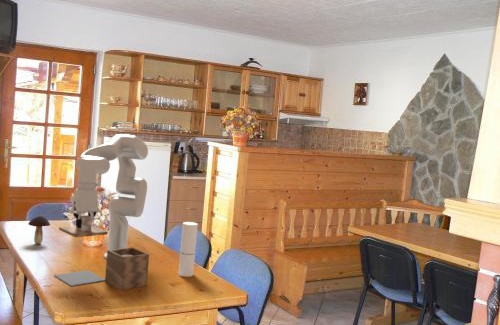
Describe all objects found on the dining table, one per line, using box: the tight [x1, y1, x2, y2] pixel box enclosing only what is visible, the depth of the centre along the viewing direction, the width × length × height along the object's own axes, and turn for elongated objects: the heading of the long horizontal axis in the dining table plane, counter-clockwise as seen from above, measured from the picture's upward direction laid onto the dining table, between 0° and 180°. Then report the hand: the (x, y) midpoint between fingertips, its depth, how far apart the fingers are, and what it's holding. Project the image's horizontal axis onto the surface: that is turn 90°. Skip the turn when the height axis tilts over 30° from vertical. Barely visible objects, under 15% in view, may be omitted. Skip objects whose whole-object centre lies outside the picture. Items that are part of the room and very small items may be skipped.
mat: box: [54, 269, 105, 288], centre depth 227 cm, size 16×16×1 cm
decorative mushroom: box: [28, 216, 51, 245], centre depth 276 cm, size 11×11×15 cm
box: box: [104, 247, 150, 291], centre depth 226 cm, size 13×13×14 cm
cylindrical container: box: [178, 221, 199, 278], centre depth 247 cm, size 7×7×25 cm
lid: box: [58, 214, 109, 238], centre depth 225 cm, size 15×15×7 cm
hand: (83, 226), depth 225 cm, fingers closed on lid, 4 cm apart
